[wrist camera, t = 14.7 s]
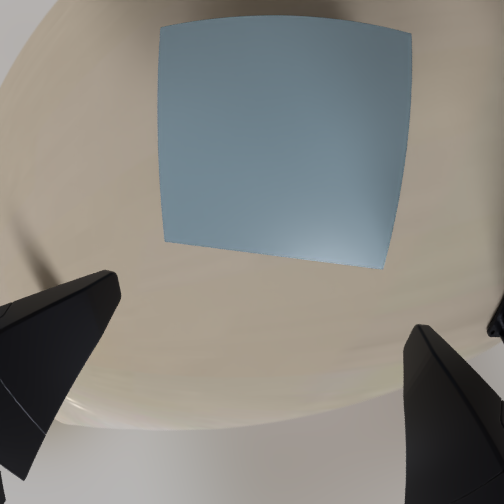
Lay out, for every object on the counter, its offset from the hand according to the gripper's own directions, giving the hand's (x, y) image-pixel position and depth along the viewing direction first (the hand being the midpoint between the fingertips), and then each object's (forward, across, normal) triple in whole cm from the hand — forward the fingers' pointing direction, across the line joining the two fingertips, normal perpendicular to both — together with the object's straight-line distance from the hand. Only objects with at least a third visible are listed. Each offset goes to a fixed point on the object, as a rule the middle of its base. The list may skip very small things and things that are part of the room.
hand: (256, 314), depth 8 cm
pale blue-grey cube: (+11, 0, -4) cm, 12 cm away
